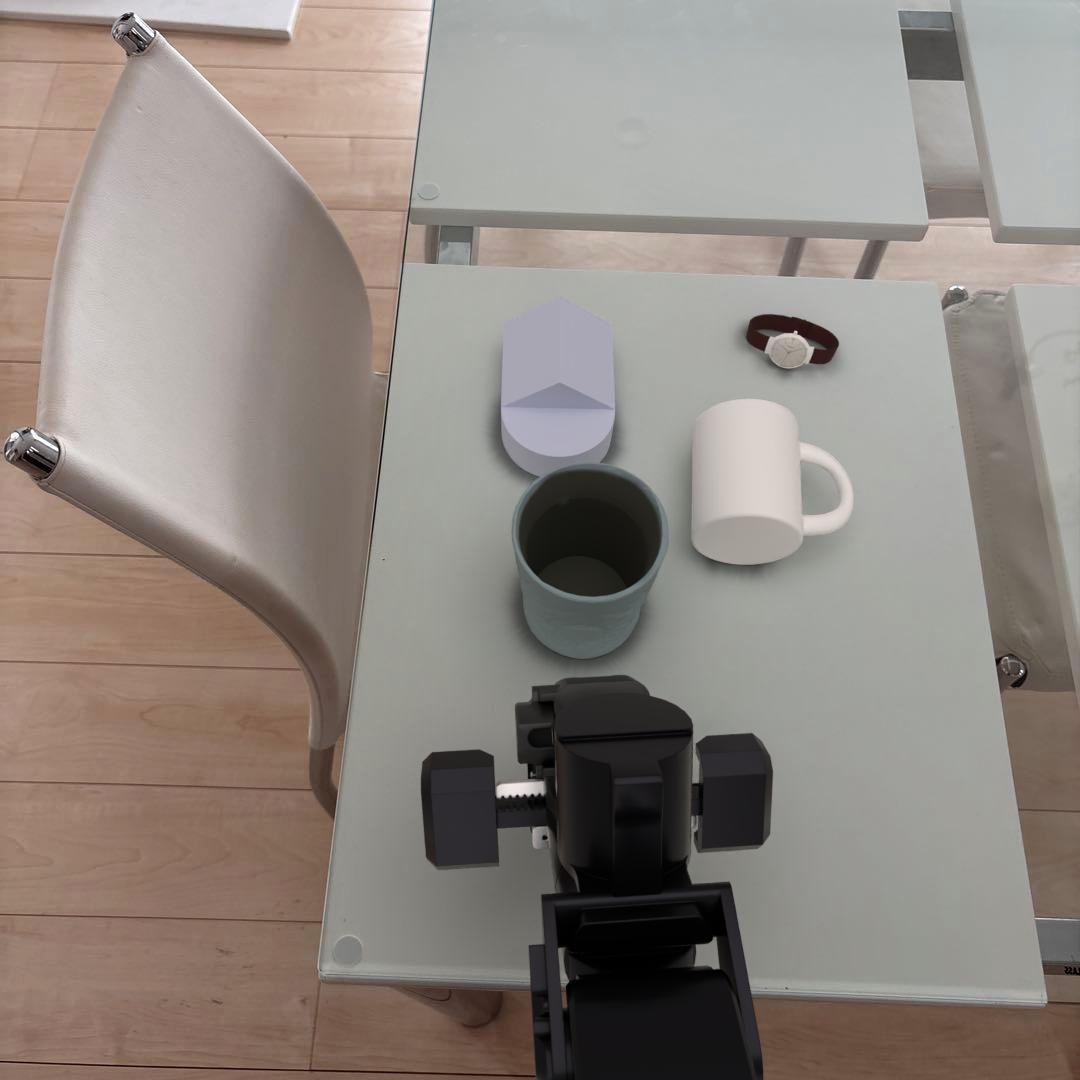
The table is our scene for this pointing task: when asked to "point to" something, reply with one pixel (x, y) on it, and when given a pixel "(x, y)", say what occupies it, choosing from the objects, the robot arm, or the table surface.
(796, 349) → the watch
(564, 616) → the teal cup
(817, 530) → the mug
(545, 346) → the wedge on round base
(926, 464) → the table surface
